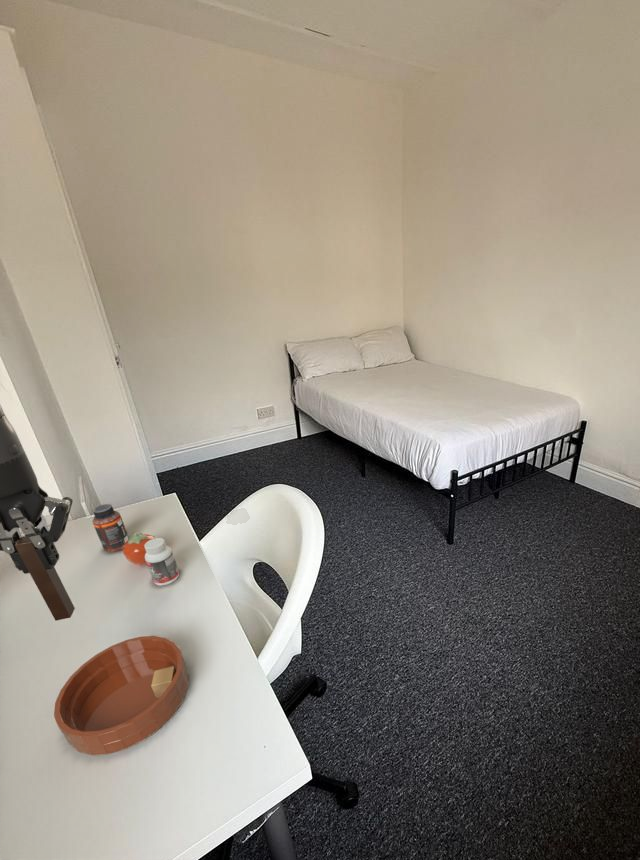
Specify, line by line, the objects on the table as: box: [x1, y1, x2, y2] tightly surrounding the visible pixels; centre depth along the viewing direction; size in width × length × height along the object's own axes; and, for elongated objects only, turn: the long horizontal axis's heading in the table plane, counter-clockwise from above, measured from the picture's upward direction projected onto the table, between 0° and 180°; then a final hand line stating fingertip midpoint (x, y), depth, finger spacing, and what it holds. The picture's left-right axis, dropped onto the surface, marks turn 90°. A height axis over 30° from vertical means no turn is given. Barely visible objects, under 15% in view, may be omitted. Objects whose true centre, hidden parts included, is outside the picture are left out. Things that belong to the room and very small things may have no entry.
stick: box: [15, 535, 76, 621], centre depth 60 cm, size 2×2×14 cm
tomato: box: [121, 532, 156, 566], centre depth 98 cm, size 7×7×8 cm
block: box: [151, 666, 176, 698], centre depth 67 cm, size 3×3×3 cm
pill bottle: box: [144, 537, 180, 586], centre depth 91 cm, size 5×5×10 cm
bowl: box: [53, 635, 190, 756], centre depth 66 cm, size 17×17×5 cm
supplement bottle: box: [91, 503, 130, 553], centre depth 103 cm, size 6×6×11 cm
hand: (41, 567), depth 59 cm, fingers closed on stick, 2 cm apart
